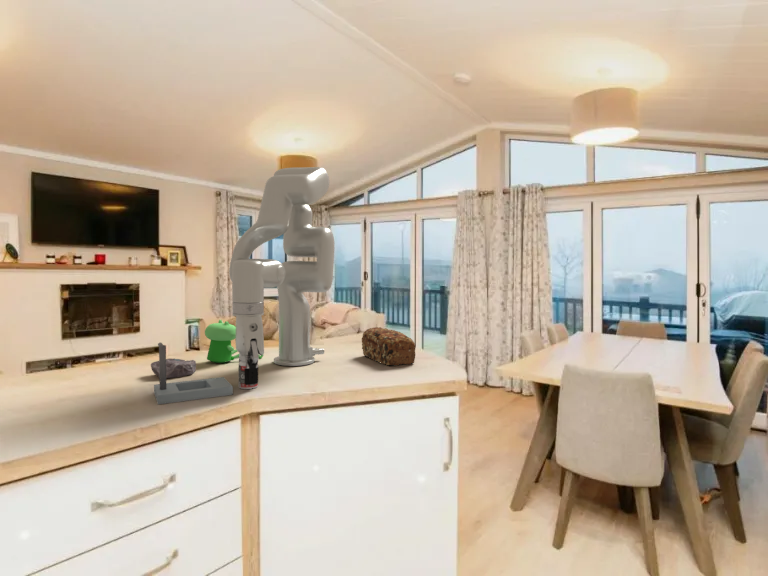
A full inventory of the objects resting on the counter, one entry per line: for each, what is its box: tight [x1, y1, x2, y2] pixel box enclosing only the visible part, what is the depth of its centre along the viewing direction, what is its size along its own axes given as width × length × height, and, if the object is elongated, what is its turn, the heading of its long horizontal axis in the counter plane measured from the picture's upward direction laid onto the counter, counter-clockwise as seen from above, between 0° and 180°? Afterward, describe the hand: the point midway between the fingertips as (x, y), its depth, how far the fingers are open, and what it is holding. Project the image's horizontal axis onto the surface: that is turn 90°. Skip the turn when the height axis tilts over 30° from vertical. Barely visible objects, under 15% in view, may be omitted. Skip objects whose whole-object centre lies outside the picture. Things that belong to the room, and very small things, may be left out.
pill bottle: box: [238, 353, 259, 390], centre depth 118 cm, size 5×5×8 cm
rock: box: [150, 358, 197, 379], centre depth 129 cm, size 8×11×5 cm
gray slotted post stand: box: [153, 342, 234, 405], centre depth 111 cm, size 16×10×12 cm, turn 121°
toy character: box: [204, 319, 264, 364], centre depth 148 cm, size 10×18×13 cm, turn 132°
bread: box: [361, 326, 416, 366], centre depth 152 cm, size 19×11×10 cm, turn 28°
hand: (248, 380), depth 118 cm, fingers closed on pill bottle, 4 cm apart
